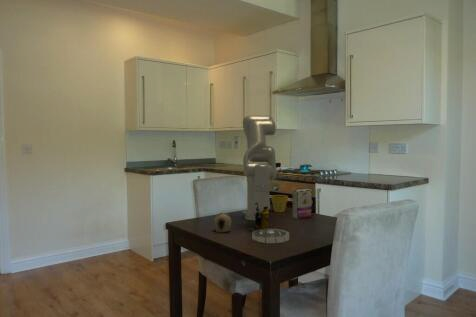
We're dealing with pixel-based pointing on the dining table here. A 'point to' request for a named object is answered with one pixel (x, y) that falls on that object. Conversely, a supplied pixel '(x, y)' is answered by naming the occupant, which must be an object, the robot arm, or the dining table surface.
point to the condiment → (263, 220)
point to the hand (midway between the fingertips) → (261, 223)
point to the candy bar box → (302, 203)
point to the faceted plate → (270, 235)
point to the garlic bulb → (222, 222)
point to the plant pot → (279, 202)
